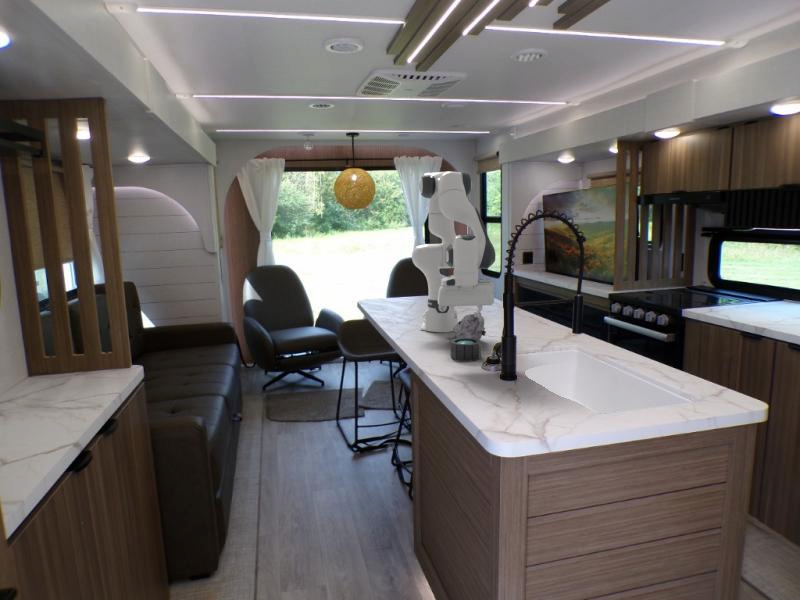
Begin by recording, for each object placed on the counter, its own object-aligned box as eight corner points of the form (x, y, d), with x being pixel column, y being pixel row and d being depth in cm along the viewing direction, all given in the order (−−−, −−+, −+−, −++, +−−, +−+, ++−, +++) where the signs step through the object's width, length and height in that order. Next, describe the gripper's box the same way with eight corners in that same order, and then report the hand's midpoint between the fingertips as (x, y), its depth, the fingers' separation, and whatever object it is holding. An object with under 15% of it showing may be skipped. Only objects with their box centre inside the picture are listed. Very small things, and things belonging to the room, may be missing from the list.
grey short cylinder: (448, 353, 202) (448, 338, 201) (477, 353, 203) (477, 337, 202) (453, 361, 191) (452, 345, 190) (483, 360, 192) (483, 344, 191)
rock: (479, 354, 210) (494, 319, 209) (456, 345, 208) (471, 310, 207) (465, 342, 232) (478, 310, 231) (444, 334, 230) (458, 302, 229)
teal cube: (456, 354, 200) (456, 341, 199) (472, 353, 200) (472, 340, 199) (458, 358, 194) (458, 344, 193) (475, 357, 194) (475, 344, 193)
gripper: (492, 278, 196) (492, 315, 198) (436, 279, 195) (437, 316, 197) (496, 280, 190) (496, 318, 192) (439, 281, 189) (439, 320, 191)
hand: (465, 317), depth 195 cm, fingers open, 7 cm apart
